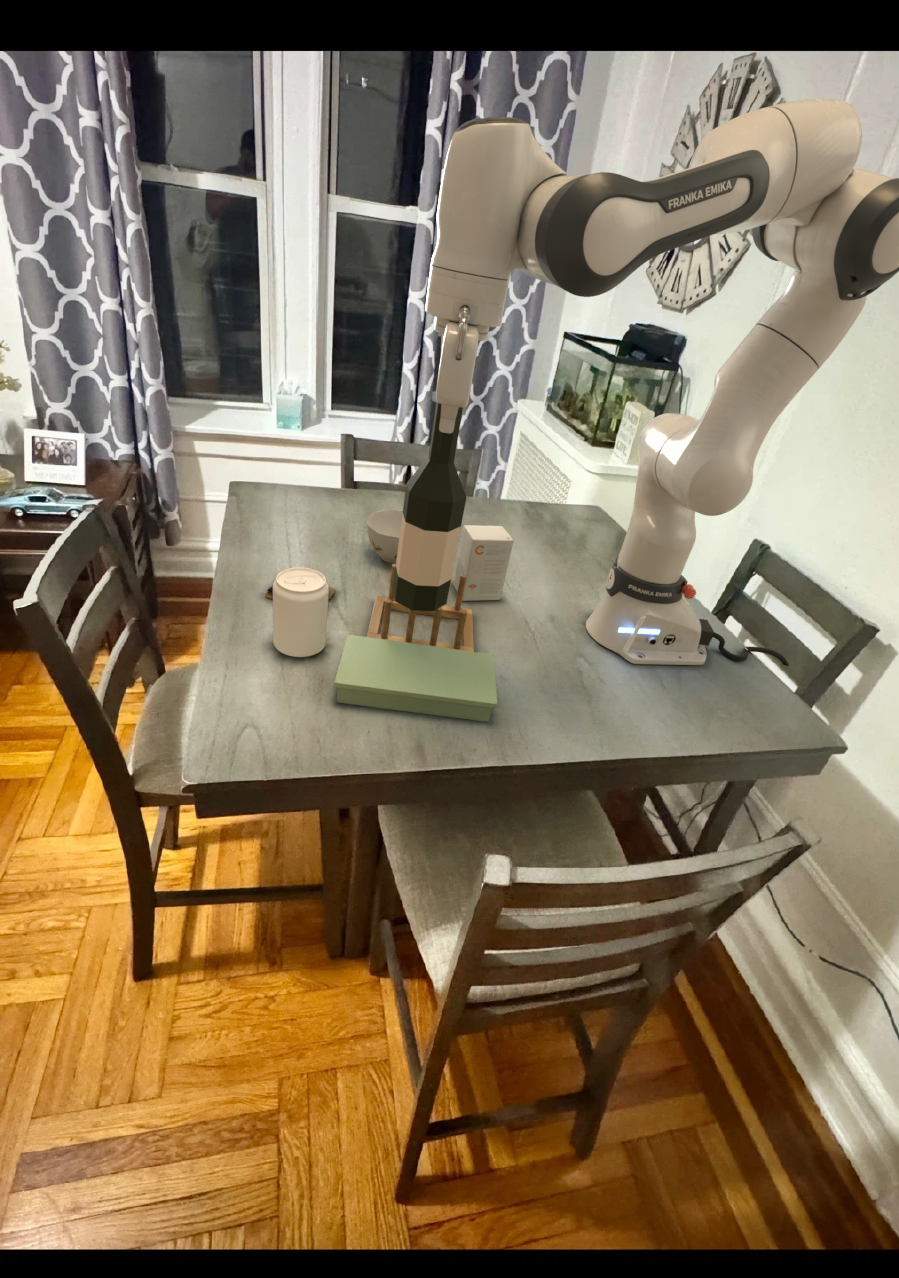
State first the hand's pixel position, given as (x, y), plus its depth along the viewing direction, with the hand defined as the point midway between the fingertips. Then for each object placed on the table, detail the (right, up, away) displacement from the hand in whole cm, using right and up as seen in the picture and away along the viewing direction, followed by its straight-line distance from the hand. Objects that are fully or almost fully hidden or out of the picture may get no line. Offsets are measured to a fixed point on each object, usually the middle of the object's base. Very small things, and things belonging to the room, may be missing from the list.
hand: (446, 426), depth 75 cm
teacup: (-10, -10, +50) cm, 52 cm away
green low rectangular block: (-5, -34, +16) cm, 38 cm away
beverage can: (-23, -28, +20) cm, 42 cm away
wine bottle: (-4, -21, +14) cm, 25 cm away
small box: (+6, -18, +43) cm, 47 cm away
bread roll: (-26, -19, +32) cm, 46 cm away
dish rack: (-4, -25, +29) cm, 39 cm away
